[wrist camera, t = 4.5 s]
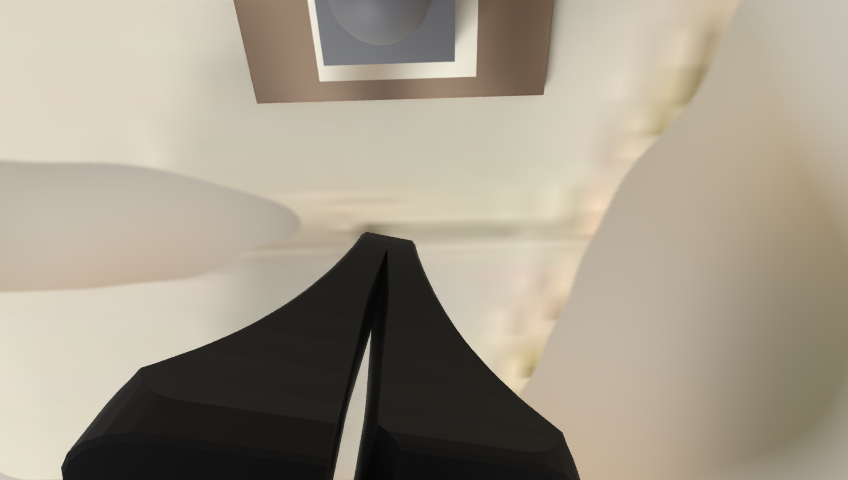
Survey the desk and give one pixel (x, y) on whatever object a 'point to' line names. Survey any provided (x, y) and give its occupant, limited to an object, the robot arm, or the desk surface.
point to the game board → (466, 77)
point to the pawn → (386, 31)
